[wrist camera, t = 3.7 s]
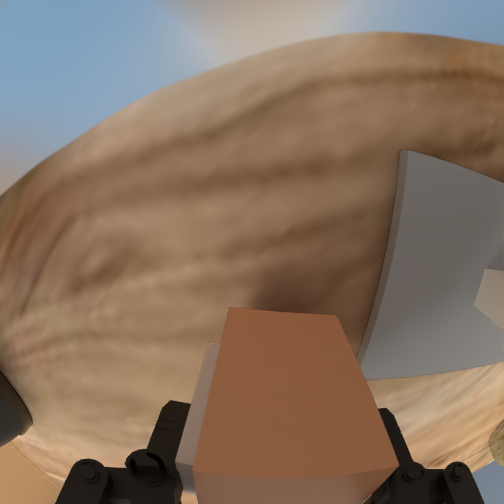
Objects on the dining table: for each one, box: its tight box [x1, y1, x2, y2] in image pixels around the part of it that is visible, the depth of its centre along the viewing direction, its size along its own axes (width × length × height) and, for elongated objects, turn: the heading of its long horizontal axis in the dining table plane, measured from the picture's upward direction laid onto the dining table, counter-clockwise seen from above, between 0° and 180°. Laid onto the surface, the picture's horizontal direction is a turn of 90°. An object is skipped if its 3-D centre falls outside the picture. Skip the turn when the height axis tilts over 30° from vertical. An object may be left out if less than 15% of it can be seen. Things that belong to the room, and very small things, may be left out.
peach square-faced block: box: [192, 307, 399, 504], centre depth 10 cm, size 5×5×9 cm
